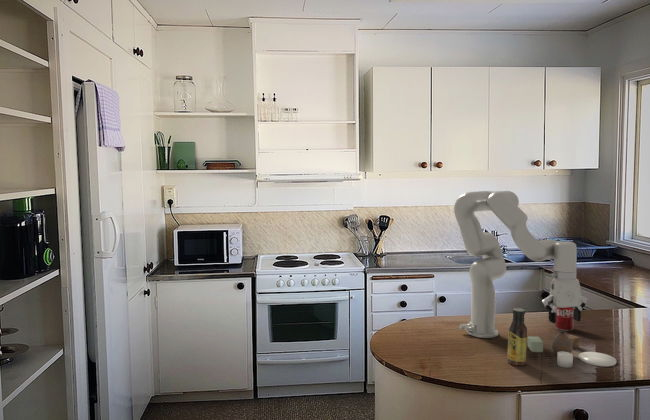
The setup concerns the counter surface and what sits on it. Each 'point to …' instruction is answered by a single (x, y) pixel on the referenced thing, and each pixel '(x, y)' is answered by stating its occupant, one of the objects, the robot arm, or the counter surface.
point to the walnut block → (574, 341)
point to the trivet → (597, 359)
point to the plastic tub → (565, 359)
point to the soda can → (564, 319)
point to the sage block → (535, 344)
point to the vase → (561, 343)
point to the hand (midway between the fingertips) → (564, 321)
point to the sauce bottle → (517, 338)
